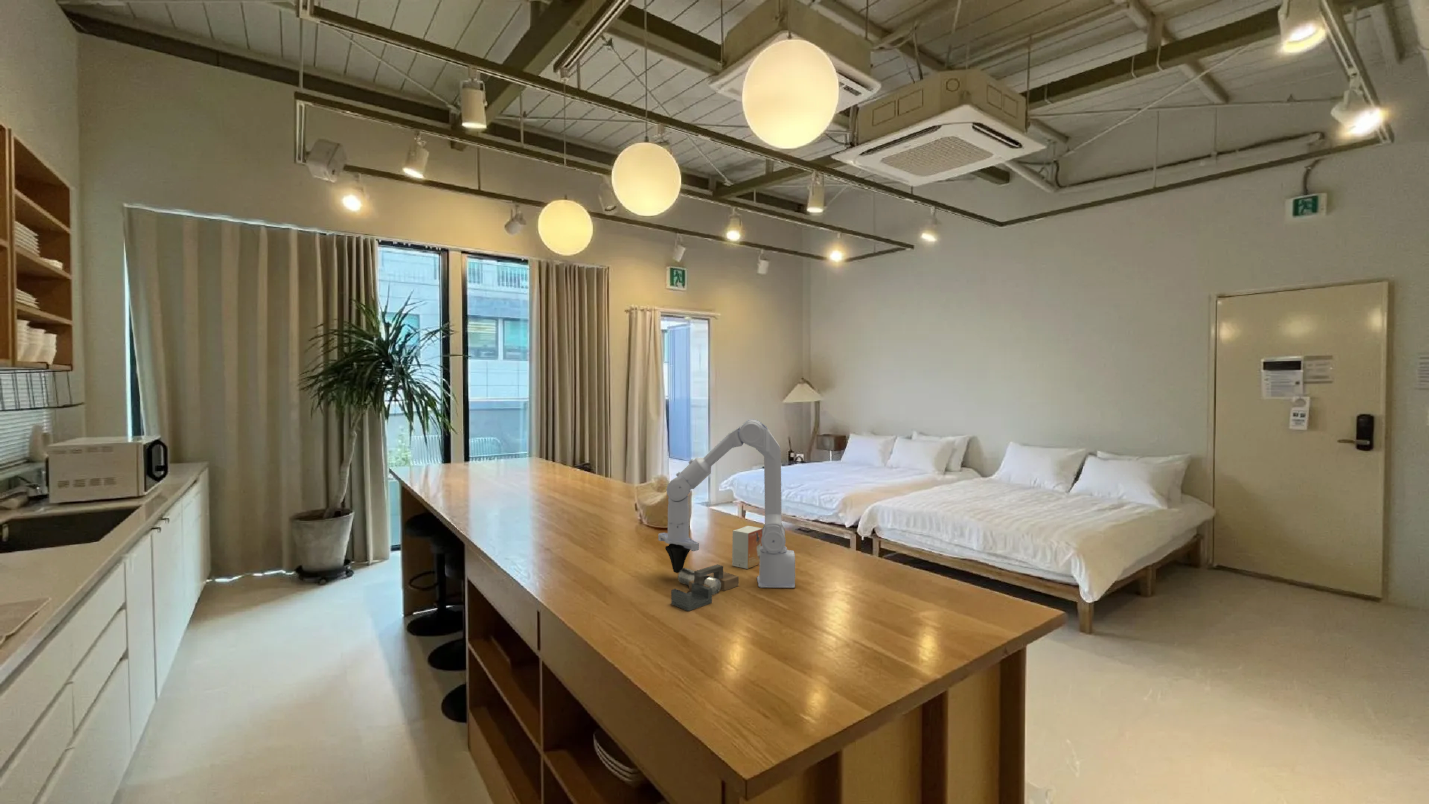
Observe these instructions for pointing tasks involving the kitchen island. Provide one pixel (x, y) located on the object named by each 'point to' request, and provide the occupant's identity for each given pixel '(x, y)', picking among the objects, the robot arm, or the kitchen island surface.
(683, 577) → the axle
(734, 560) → the small box
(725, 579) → the bearing block
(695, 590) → the cradle
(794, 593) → the kitchen island surface
